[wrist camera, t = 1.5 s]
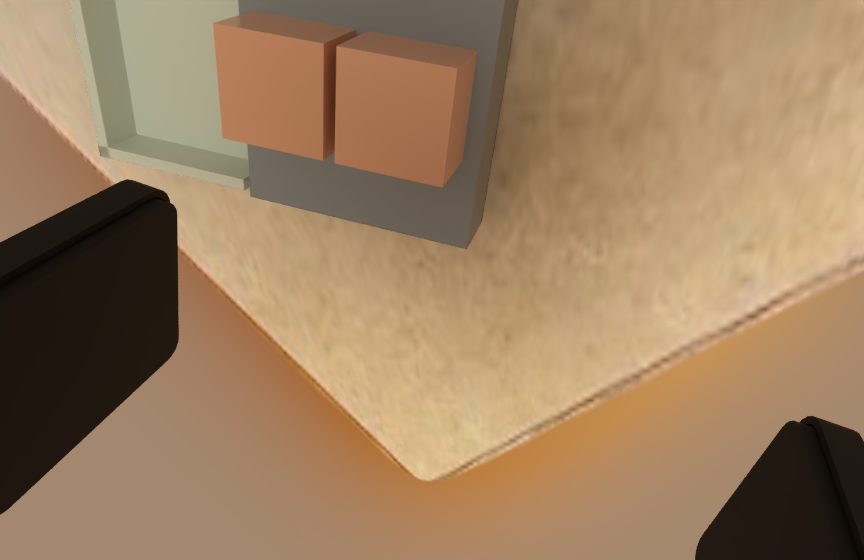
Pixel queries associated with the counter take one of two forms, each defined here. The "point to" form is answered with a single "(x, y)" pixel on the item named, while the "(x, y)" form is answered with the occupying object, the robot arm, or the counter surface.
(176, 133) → the sage bin
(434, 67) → the tile
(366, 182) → the slate board
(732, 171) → the counter surface
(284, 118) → the tile
